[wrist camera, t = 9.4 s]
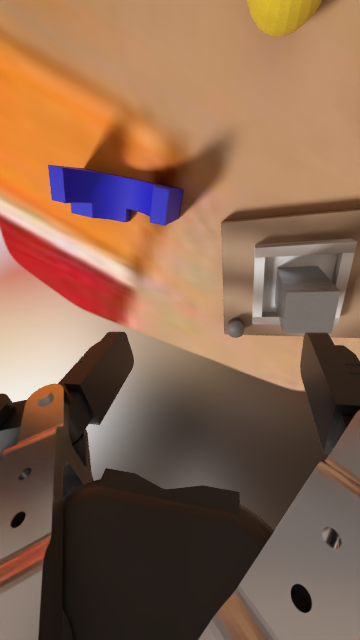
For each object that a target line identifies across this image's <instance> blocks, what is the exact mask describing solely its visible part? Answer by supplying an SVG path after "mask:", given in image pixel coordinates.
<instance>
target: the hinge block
mask: <svg viewBox="0 0 360 640" xmlns="http://www.w3.org/2000/svg"><path fill="white" fill-rule="evenodd" d="M340 292H341V291H340V290H339V289H338V288H337V287H336V286H335V285H334V283H333V282H332V281H331V280H330V279H329V278H328V277H327V276H326V274H325V273H324V272H323V271H322V270H321V269H320V268H319V267H318V266H303V267H283V268H277V273H276V287H275V305H276V309H277V313H278V317H279V321H280V324H281V328H282V332H283V333H306V332H309V333H328V334H332V330H333V325H334V320H335V316H336V311H337V306H338V301H339V297H340Z"/></svg>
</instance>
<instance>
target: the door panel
mask: <svg viewBox="0 0 360 640" xmlns="http://www.w3.org/2000/svg"><path fill="white" fill-rule="evenodd" d="M221 235H222V268H223V301H224V334H229V335H230V336H231V337H235V338H237V337H240V336H242V335H271V336H304V335H305V333H283V332H282V328H281V324H280V321H279V317H278V313H277V309H276V305H275V287H276V273H277V268H283V267H303V266H318V267H319V268H320V269H321V270H322V271H323V272H324V273H325V274H326V276H327V277H328V278H329V279H330V280H331V281H332V282H333V283H334V285H335V286H336V287H337V288H338V289H339V290H340V291H341V292H340V297H339V301H338V306H337V311H336V316H335V320H334V325H333V330H332V334H329V336H330V337H343V338H360V208H356V209H346V210H335V211H325V212H314V213H304V214H293V215H282V216H272V217H261V218H251V219H240V220H230V221H222V223H221Z"/></svg>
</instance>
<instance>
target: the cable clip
mask: <svg viewBox="0 0 360 640" xmlns="http://www.w3.org/2000/svg"><path fill="white" fill-rule="evenodd" d="M48 168H49V177H50V186H51V195H52V200H54V201H59V202H63V203H71V212H72V213H74V214H79V215H83V216H87V217H92V218H102V219H111V220H117V221H122V222H128V221H130V215H131V210H134V211H138V212H141V213H144V214H146V215H148V216H150V222H151V223H156V224H160V225H164V226H165V225H167V224H169V223H171V222H173V221H175V220H177V219H179V216H180V209H181V203H182V196H183V190H184V189H180V188H176V187H171V186H166V185H161V184H156V183H151V182H147V181H142V180H137V179H132V178H127V177H122V176H118V175H113V174H108V173H103V172H98V171H93V170H88V169H84V168H74V167H63V166H53V165H48Z"/></svg>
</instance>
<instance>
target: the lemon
mask: <svg viewBox="0 0 360 640" xmlns="http://www.w3.org/2000/svg"><path fill="white" fill-rule="evenodd" d="M321 2H322V0H247V4H248V7H249V10H250V13H251V17H252V19H253V20H254V22H255V24H256V25H257V27H258V28H259V29H260V30H261V31H262V32H264V33H265V34H267V35H270V36H273V37H278V36H285V35H287V34H290V33H292V32H294V31H295V30H297V29H298V28H299V27H301V26H302V25H303V24H304V23H305V22H306V21H307V20H308V19H309V18H310V17H311V16H312V15H313V14H314V12H315V11H316V10H317V8H318V6H319V5H320V3H321Z"/></svg>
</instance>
